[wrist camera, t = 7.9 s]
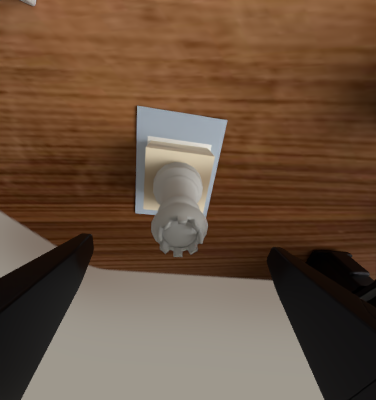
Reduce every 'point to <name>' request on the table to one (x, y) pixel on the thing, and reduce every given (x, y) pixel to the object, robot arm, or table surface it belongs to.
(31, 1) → the light bulb box
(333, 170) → the table surface
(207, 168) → the beech block
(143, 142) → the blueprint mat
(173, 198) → the rook chess piece
